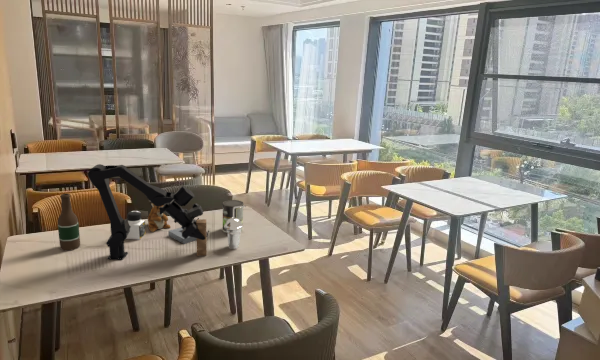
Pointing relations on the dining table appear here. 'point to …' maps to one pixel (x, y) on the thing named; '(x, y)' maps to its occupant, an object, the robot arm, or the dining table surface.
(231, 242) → the cup with straw
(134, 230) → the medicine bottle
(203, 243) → the peg
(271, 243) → the dining table surface
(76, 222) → the beer bottle
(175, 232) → the socket
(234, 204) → the coffee can
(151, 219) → the stuffed squirrel
